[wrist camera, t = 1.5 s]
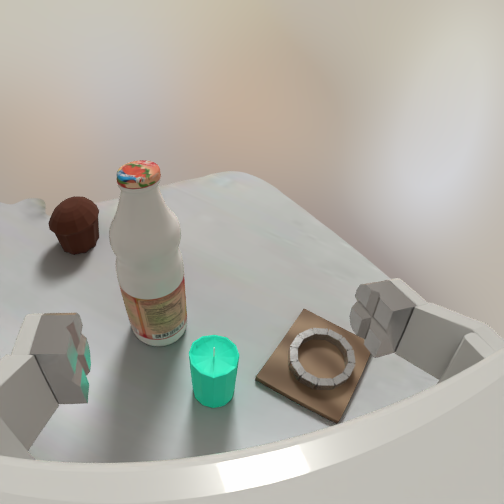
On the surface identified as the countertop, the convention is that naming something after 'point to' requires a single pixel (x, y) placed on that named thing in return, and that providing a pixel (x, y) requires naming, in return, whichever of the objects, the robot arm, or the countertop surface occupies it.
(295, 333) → the ring board
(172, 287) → the fruit juice
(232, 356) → the candle
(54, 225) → the muffin
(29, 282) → the countertop surface
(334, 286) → the countertop surface
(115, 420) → the countertop surface
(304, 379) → the ring collar
